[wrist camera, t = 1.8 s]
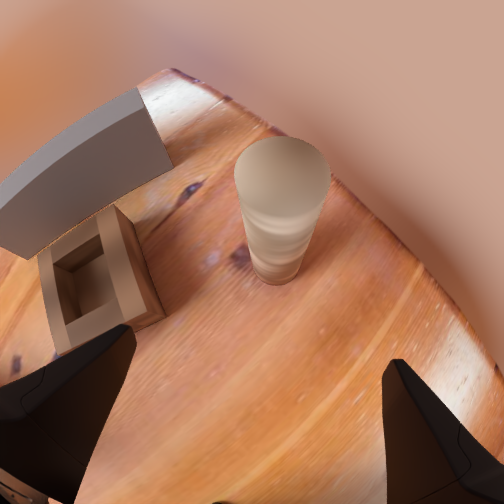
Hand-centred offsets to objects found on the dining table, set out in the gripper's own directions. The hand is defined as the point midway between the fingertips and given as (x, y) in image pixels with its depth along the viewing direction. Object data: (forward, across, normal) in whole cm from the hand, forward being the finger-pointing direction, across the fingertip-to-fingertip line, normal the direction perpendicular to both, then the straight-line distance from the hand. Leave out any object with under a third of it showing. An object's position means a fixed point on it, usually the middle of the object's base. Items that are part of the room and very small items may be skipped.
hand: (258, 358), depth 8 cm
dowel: (+14, 0, +4) cm, 15 cm away
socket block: (+11, +15, +8) cm, 20 cm away
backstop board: (+18, +22, +1) cm, 28 cm away
